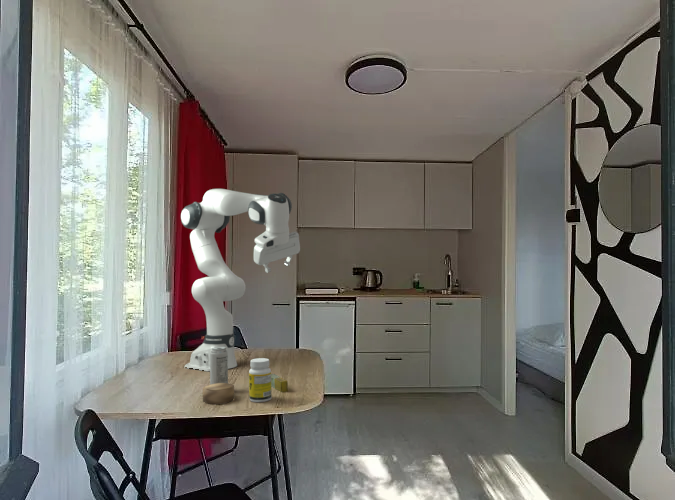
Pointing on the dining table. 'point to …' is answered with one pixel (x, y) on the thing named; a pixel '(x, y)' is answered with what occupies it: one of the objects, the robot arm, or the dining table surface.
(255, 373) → the supplement bottle
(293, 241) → the robot arm
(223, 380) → the energy drink can
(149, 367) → the dining table surface
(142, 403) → the dining table surface
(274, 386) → the medication box
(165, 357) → the dining table surface
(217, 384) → the wooden bowl
